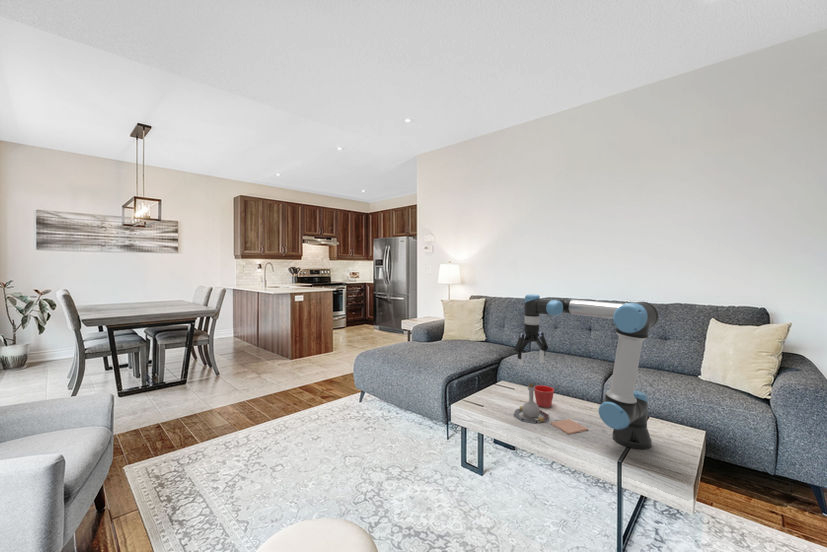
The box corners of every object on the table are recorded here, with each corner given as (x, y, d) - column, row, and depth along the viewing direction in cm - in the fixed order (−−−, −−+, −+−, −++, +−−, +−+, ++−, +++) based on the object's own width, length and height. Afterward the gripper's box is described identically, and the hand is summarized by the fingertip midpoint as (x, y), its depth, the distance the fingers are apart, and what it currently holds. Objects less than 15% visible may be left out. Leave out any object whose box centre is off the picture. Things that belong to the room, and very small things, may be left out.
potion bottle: (521, 417, 185) (521, 383, 185) (524, 411, 193) (524, 379, 193) (538, 421, 181) (538, 386, 181) (541, 414, 189) (541, 381, 189)
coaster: (587, 430, 171) (587, 428, 171) (568, 434, 167) (568, 432, 167) (569, 420, 182) (569, 418, 182) (550, 424, 178) (550, 422, 178)
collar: (555, 420, 182) (555, 416, 182) (528, 425, 176) (528, 421, 176) (533, 408, 198) (533, 404, 198) (508, 412, 192) (508, 408, 192)
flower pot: (557, 408, 197) (557, 391, 197) (537, 408, 198) (537, 391, 197) (550, 401, 208) (550, 385, 208) (531, 401, 208) (531, 385, 208)
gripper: (545, 321, 194) (545, 359, 195) (507, 324, 185) (507, 364, 186) (555, 323, 187) (555, 363, 188) (516, 326, 178) (516, 367, 179)
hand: (531, 363), depth 187 cm, fingers open, 13 cm apart
